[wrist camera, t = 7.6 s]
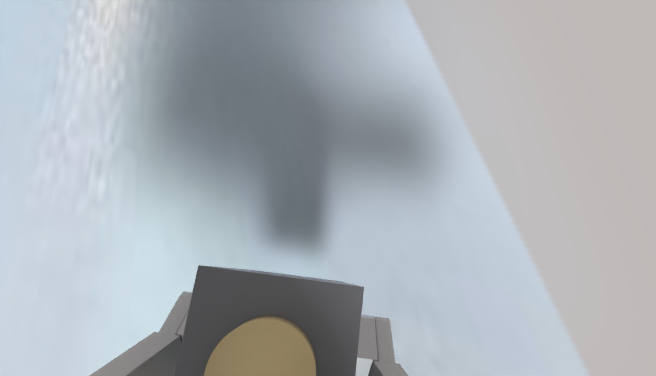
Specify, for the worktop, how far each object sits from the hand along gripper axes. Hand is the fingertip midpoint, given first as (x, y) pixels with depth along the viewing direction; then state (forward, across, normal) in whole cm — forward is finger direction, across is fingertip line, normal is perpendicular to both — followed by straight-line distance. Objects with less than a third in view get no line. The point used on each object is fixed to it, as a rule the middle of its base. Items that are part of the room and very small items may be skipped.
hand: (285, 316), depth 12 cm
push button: (+3, 0, +4) cm, 5 cm away
